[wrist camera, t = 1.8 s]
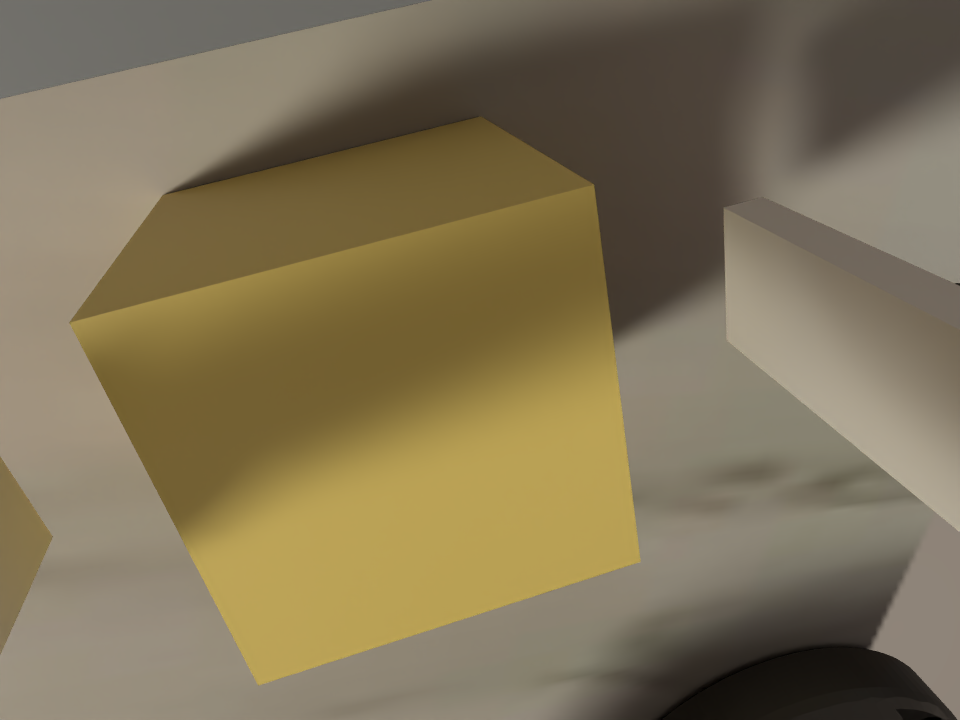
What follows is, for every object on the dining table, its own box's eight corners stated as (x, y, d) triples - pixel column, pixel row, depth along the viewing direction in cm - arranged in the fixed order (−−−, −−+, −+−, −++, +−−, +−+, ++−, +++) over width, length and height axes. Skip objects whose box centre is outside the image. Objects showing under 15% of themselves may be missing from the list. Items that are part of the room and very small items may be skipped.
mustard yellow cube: (531, 384, 19) (640, 562, 13) (272, 459, 18) (258, 685, 12) (480, 116, 16) (594, 185, 10) (163, 195, 15) (69, 322, 9)
